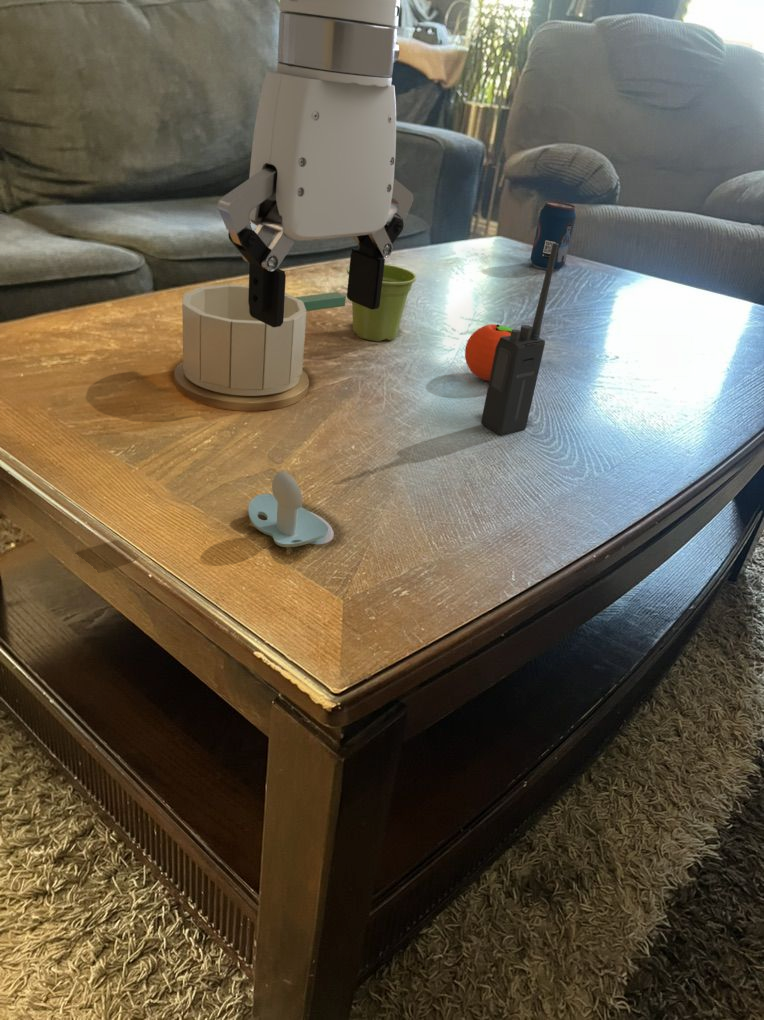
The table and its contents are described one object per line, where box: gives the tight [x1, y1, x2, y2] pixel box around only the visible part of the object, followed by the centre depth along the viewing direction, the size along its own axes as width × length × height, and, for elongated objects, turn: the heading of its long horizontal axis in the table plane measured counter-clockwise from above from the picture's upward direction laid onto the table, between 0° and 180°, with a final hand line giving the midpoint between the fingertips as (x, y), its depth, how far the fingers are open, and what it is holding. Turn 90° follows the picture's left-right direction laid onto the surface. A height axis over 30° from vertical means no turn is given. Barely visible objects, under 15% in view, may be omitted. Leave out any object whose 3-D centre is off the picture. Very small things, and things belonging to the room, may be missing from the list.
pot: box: [181, 283, 347, 396], centre depth 88 cm, size 13×20×8 cm, turn 132°
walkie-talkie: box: [480, 243, 559, 437], centre depth 82 cm, size 5×3×20 cm
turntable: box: [173, 360, 310, 412], centre depth 88 cm, size 15×15×1 cm
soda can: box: [530, 200, 577, 272], centre depth 153 cm, size 7×7×12 cm
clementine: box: [464, 323, 514, 382], centre depth 97 cm, size 8×7×7 cm
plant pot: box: [346, 264, 417, 342], centre depth 106 cm, size 9×9×9 cm
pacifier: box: [247, 470, 335, 548], centre depth 62 cm, size 7×6×6 cm
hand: (316, 312), depth 59 cm, fingers open, 9 cm apart
